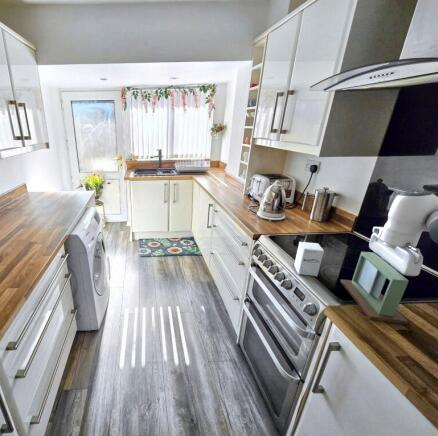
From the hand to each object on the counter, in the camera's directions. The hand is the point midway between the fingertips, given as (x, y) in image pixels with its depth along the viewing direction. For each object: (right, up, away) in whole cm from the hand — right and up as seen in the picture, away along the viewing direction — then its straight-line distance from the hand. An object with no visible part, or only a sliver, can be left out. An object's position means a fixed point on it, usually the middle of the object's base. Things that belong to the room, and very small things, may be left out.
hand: (386, 272), depth 86 cm
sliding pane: (-2, -8, +1) cm, 8 cm away
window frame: (-5, -11, +1) cm, 12 cm away
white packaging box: (-16, -4, +20) cm, 26 cm away
